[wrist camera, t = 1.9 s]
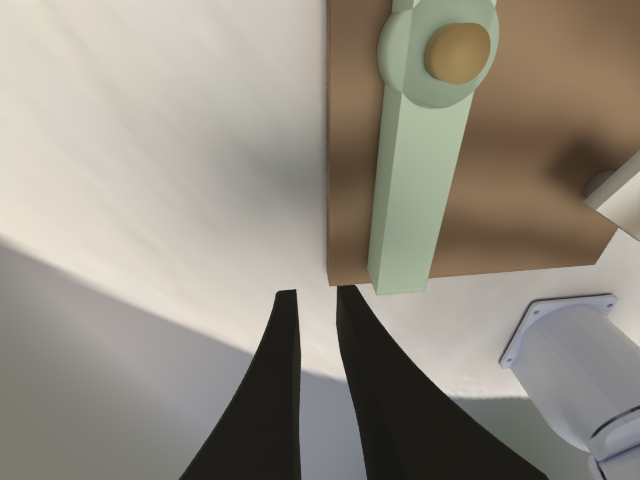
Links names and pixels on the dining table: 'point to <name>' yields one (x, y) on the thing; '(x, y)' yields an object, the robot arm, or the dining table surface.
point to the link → (418, 139)
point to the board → (499, 135)
